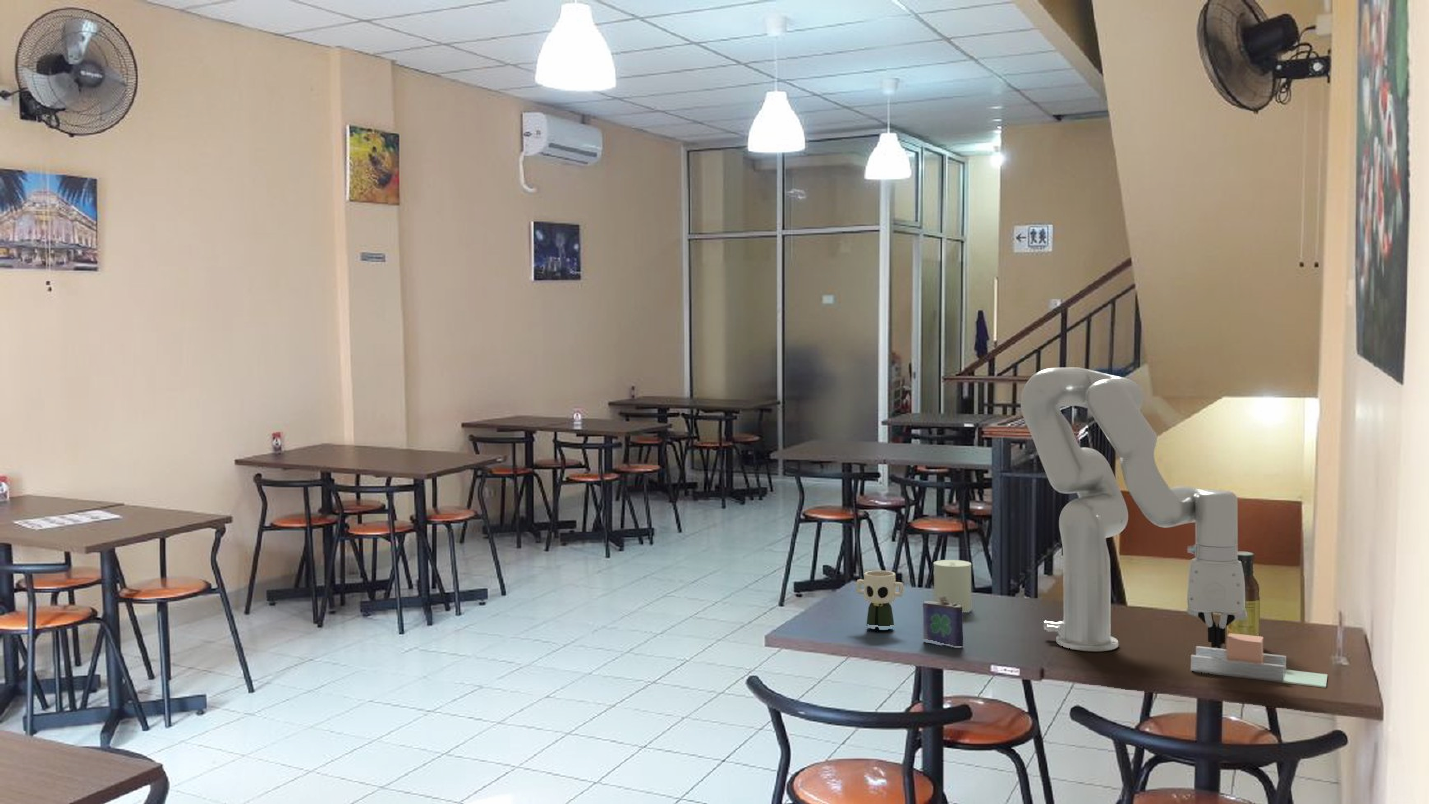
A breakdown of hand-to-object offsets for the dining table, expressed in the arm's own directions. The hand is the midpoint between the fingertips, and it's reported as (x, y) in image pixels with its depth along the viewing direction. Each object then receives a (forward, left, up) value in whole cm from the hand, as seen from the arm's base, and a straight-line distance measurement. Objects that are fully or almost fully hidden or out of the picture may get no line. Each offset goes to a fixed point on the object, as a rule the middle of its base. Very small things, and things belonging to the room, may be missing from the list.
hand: (1216, 646), depth 215 cm
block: (+5, 0, -4) cm, 6 cm away
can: (-62, +26, -5) cm, 68 cm away
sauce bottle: (+3, +21, -5) cm, 22 cm away
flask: (-53, -7, -5) cm, 54 cm away
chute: (+4, 0, -4) cm, 6 cm away
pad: (+15, 0, -4) cm, 16 cm away
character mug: (-70, -1, -5) cm, 70 cm away
